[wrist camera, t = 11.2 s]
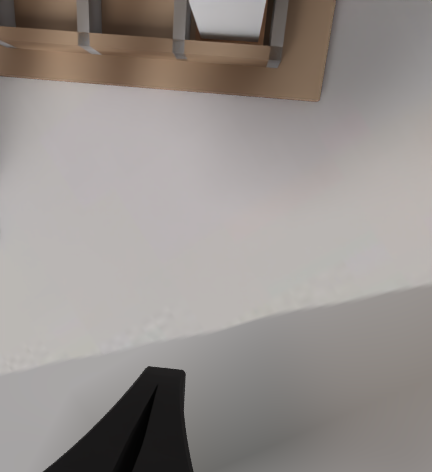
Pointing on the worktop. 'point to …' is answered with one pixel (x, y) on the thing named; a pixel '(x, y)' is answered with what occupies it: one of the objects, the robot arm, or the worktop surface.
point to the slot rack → (166, 47)
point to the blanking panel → (229, 19)
